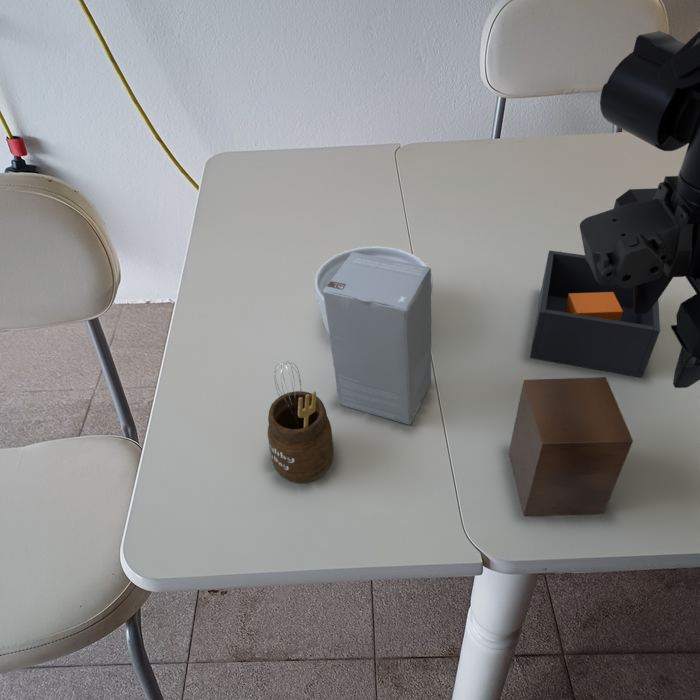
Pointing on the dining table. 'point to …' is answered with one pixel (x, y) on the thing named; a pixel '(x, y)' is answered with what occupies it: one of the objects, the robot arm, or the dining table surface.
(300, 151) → the dining table surface
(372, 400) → the cosmetic box
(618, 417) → the stand
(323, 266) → the ramekin
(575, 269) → the open box
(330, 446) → the utensil holder
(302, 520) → the dining table surface
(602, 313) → the orange block
